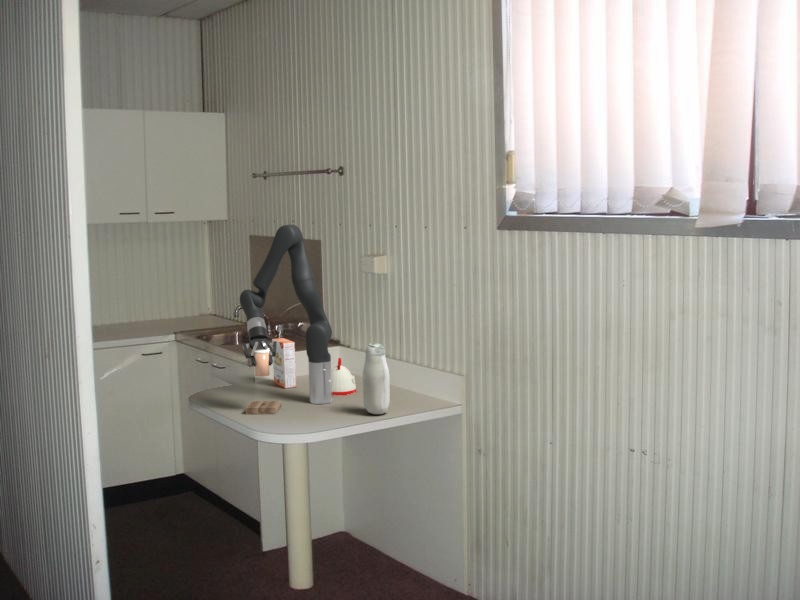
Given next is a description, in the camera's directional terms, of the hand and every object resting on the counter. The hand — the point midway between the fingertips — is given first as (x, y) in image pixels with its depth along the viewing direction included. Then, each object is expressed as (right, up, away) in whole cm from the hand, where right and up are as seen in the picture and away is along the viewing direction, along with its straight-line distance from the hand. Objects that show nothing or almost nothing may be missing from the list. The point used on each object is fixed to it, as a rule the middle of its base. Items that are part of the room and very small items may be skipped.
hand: (262, 364), depth 367 cm
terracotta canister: (0, -4, +2) cm, 5 cm away
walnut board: (0, -19, +4) cm, 19 cm away
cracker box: (+2, -13, +52) cm, 54 cm away
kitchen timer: (+29, -15, +36) cm, 48 cm away
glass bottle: (+45, -19, -6) cm, 50 cm away
